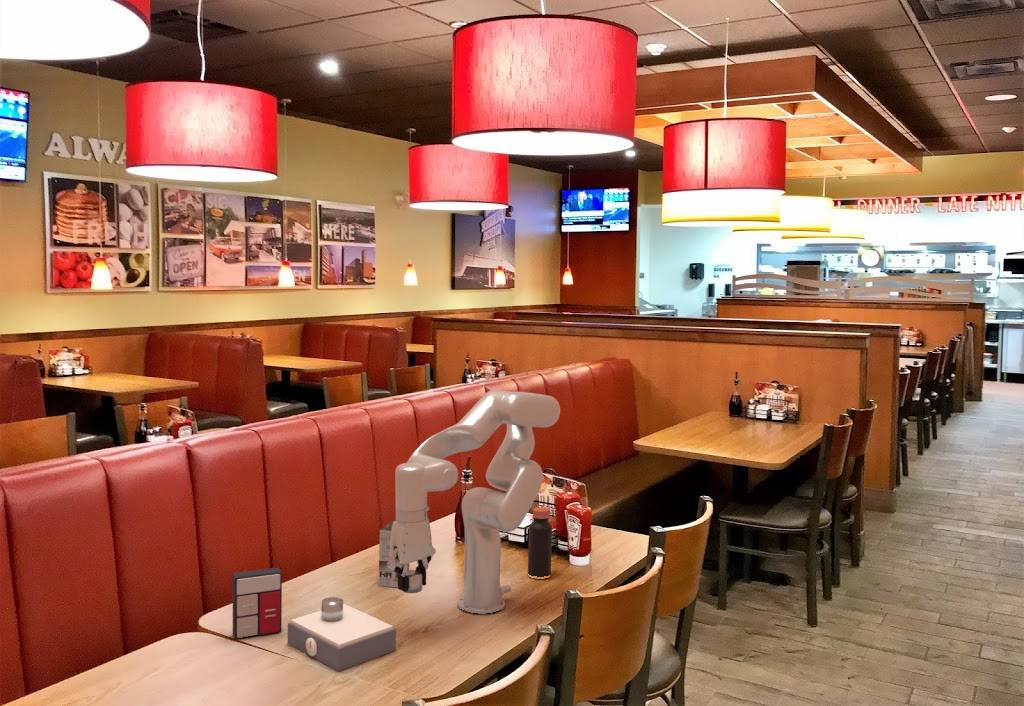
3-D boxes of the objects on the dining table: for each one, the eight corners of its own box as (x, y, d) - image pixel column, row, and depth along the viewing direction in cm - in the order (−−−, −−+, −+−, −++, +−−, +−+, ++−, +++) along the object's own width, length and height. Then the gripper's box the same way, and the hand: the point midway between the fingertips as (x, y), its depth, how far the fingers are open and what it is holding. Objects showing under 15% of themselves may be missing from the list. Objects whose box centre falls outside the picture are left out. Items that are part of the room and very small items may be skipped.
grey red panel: (235, 640, 205) (235, 578, 203) (231, 634, 208) (232, 573, 207) (282, 633, 210) (282, 572, 208) (278, 626, 213) (278, 567, 212)
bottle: (554, 575, 256) (557, 508, 255) (543, 581, 251) (545, 513, 249) (535, 570, 260) (537, 505, 258) (523, 577, 254) (525, 509, 252)
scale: (343, 625, 215) (344, 602, 215) (395, 650, 202) (395, 626, 201) (285, 644, 203) (285, 620, 203) (336, 672, 190) (336, 646, 189)
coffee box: (399, 588, 242) (400, 531, 241) (377, 586, 244) (378, 529, 242) (410, 577, 251) (411, 522, 250) (388, 575, 252) (389, 520, 251)
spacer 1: (331, 611, 208) (332, 595, 208) (347, 617, 206) (347, 600, 205) (316, 618, 204) (317, 601, 204) (332, 623, 202) (332, 607, 201)
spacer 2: (413, 583, 216) (413, 568, 215) (426, 589, 212) (426, 573, 212) (397, 589, 212) (397, 573, 212) (411, 594, 209) (410, 578, 208)
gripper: (427, 504, 219) (428, 574, 221) (373, 519, 206) (374, 592, 208) (447, 510, 214) (448, 581, 216) (393, 525, 201) (394, 601, 203)
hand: (412, 586), depth 212 cm, fingers closed on spacer 2, 5 cm apart
